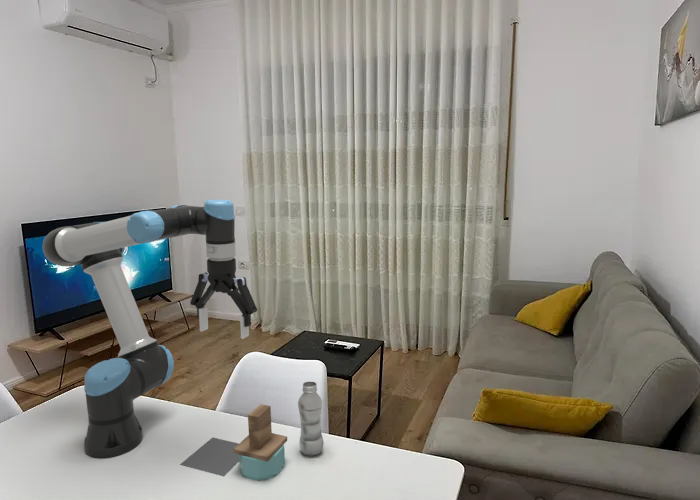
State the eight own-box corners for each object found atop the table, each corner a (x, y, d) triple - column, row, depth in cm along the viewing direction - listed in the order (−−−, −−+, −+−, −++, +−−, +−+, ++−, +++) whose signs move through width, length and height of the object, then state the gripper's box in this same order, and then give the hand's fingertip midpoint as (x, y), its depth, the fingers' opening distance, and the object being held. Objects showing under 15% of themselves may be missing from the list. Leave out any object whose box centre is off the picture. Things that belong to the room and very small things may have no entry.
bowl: (232, 475, 127) (231, 453, 126) (255, 451, 137) (254, 432, 136) (269, 485, 123) (268, 463, 122) (290, 460, 133) (290, 439, 132)
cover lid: (233, 453, 126) (231, 416, 125) (255, 433, 135) (253, 398, 134) (267, 461, 123) (266, 423, 121) (287, 440, 132) (286, 404, 130)
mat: (179, 465, 131) (179, 464, 131) (212, 438, 144) (212, 437, 144) (223, 477, 126) (223, 476, 126) (253, 448, 139) (253, 447, 139)
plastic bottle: (320, 460, 133) (318, 390, 130) (296, 457, 134) (294, 388, 131) (326, 446, 139) (324, 380, 136) (303, 444, 141) (301, 378, 137)
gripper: (174, 256, 134) (178, 331, 138) (252, 265, 124) (255, 345, 128) (193, 251, 140) (196, 323, 144) (269, 259, 131) (270, 335, 135)
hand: (224, 333), depth 136 cm, fingers open, 13 cm apart
